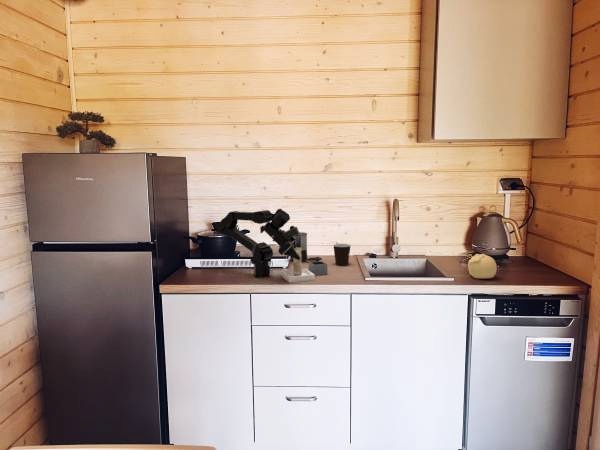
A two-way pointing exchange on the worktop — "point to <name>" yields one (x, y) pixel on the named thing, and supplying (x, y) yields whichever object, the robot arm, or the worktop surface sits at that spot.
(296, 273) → the maple pin
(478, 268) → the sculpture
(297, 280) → the tray
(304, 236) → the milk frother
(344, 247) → the black cup
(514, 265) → the worktop surface
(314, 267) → the pin cup
